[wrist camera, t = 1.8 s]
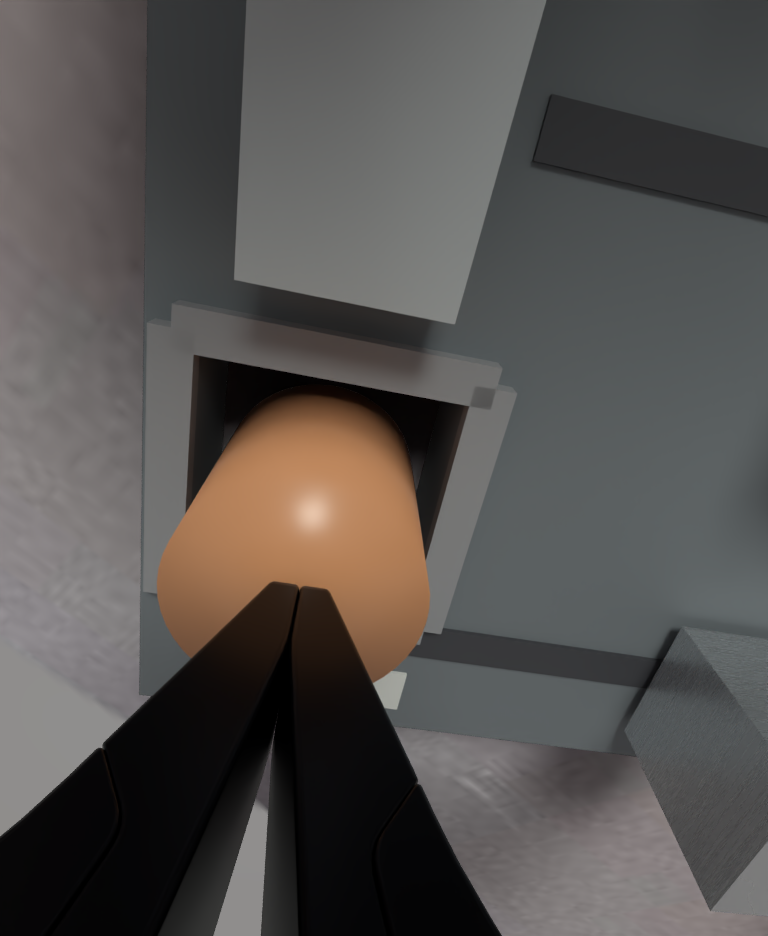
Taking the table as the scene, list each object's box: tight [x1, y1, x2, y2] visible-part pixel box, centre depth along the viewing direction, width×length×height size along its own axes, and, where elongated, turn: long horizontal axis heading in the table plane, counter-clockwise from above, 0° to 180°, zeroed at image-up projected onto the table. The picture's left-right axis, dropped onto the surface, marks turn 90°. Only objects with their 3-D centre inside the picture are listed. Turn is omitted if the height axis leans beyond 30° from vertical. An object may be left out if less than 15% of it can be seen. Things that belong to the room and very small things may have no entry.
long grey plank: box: [234, 0, 546, 324], centre depth 7 cm, size 3×6×1 cm, turn 169°
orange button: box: [157, 384, 430, 683], centre depth 10 cm, size 4×4×4 cm
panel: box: [139, 0, 768, 756], centre depth 12 cm, size 18×17×3 cm
